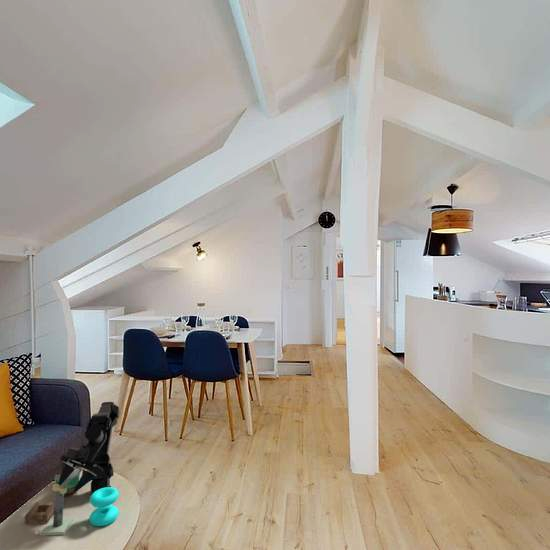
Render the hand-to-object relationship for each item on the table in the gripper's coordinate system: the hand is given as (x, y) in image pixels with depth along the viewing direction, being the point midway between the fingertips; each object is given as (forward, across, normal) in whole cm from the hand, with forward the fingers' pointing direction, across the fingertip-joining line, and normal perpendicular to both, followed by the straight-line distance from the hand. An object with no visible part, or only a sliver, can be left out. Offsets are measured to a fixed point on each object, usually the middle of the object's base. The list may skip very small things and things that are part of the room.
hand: (66, 488), depth 143 cm
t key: (+11, 0, +6) cm, 12 cm away
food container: (0, -16, +18) cm, 25 cm away
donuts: (+4, +11, +15) cm, 19 cm away
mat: (+12, 0, +6) cm, 13 cm away
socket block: (+11, -11, +7) cm, 17 cm away
